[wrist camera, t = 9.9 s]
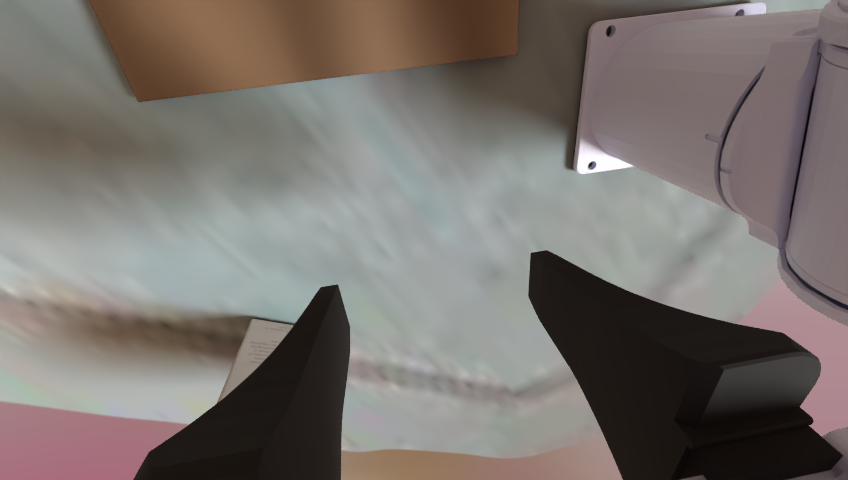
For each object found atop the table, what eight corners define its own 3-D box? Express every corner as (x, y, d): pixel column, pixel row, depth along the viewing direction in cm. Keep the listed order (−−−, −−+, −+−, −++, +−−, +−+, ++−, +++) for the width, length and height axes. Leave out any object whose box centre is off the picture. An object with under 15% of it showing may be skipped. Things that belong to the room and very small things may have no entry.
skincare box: (244, 358, 25) (155, 576, 15) (252, 312, 24) (157, 524, 13) (328, 369, 27) (302, 572, 17) (342, 327, 25) (322, 526, 15)
